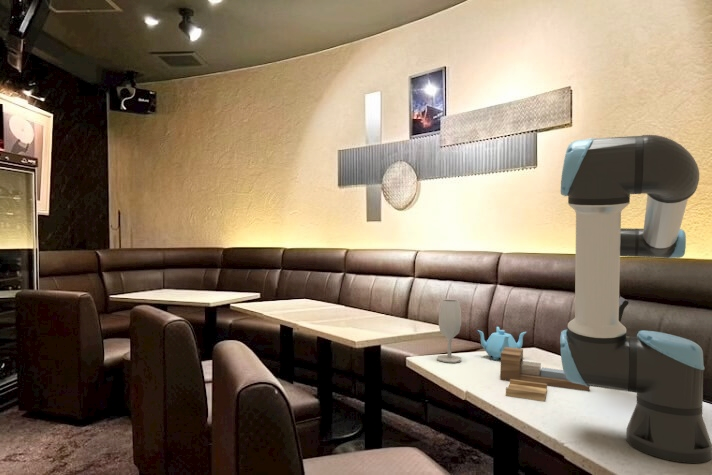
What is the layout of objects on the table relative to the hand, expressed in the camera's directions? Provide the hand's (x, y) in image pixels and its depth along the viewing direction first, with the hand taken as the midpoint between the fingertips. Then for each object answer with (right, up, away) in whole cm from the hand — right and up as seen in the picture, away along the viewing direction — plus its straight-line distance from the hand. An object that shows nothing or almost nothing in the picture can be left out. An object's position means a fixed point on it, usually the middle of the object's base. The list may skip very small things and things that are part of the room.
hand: (602, 355), depth 143 cm
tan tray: (-24, -9, -6) cm, 26 cm away
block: (-21, -9, +9) cm, 24 cm away
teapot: (-20, -9, +34) cm, 40 cm away
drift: (-10, -10, +4) cm, 14 cm away
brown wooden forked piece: (-15, -9, +6) cm, 18 cm away
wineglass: (-39, -9, +29) cm, 49 cm away
